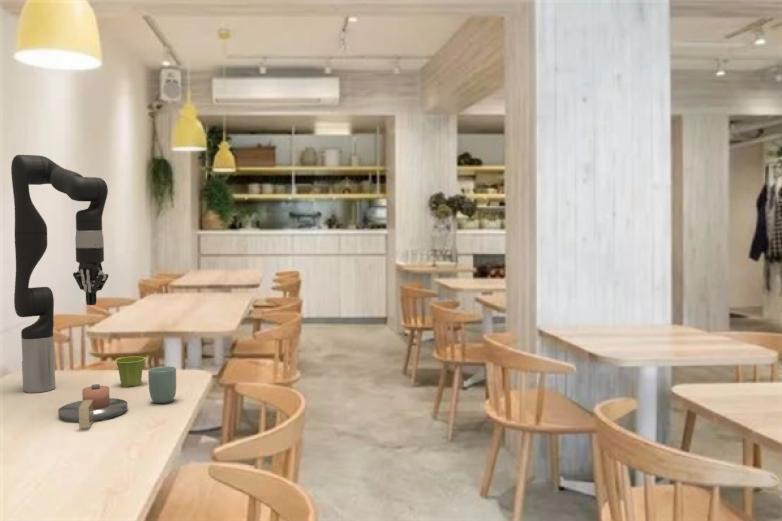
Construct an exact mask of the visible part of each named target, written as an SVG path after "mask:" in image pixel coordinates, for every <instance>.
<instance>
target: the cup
mask: <svg viewBox="0 0 782 521" xmlns="http://www.w3.org/2000/svg"><path fill="white" fill-rule="evenodd" d="M147 376H148V390H149V397H150V399H151V401H152V402H153V403H156V404H167V403H170V402H172V401H173V400H174V399H175V397H176V394H177V368H176V367H175V366H170V365H168V366H167V365H166V366H165V365H164V366H163V365H162V366H155V367H152V368H150V369H148V375H147Z"/></svg>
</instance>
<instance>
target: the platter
mask: <svg viewBox="0 0 782 521" xmlns="http://www.w3.org/2000/svg"><path fill="white" fill-rule="evenodd" d="M109 398H110V405H109V406H108V407H105V408H101V409H94V406H93V400H84V401H83V399H82V400H78V401H73V402H70V403H67V404H64V405H63V406H61V407H59V408H58V412H57V413H58V414H57V415H58V418H59V419H61V420H63V421H68V422H78V424H79V425H78V426H79V429H81V430H82V429H90V428H91V425H92V424H93V422H94V421H100V420H104V419H110V418H113V417H117V416H120V415H122V414H124V413H126V412H127V411H128V408H129V406H128V405H129V404H128V402H127V401H126V400H125V399H122V398H121V399H120V398H111V397H109Z"/></svg>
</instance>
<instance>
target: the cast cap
mask: <svg viewBox="0 0 782 521" xmlns="http://www.w3.org/2000/svg"><path fill="white" fill-rule="evenodd" d="M81 392H82V400H83V401H84V400H93V406H94V409H101V408H105V407H108V406H109V405H110V398H111V397H110V387H109V386H108V385H100V384H96V383H95V384H91V386H87V387H85V388H82V389H81Z"/></svg>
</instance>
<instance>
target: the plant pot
mask: <svg viewBox="0 0 782 521" xmlns="http://www.w3.org/2000/svg"><path fill="white" fill-rule="evenodd" d="M145 360H146V357H144V356H139V355H138V356H134V355H133V356H124V357H120V358H117V359H115V360H114V362H115V363H116V366H117V369H118V374H119V380H120V385H121V387H125V388H129V387H137V386H141V384H142V378H143V377H142V375H143V368H144V364H145Z"/></svg>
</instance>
